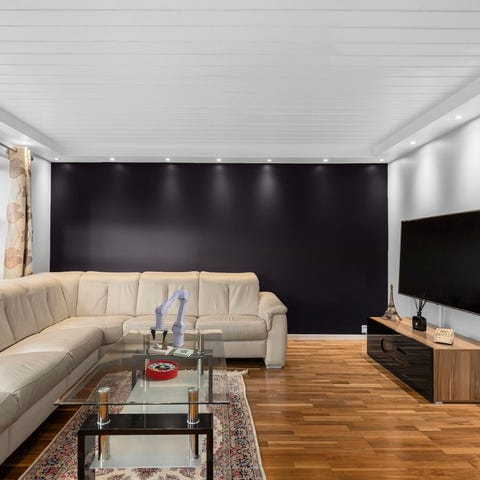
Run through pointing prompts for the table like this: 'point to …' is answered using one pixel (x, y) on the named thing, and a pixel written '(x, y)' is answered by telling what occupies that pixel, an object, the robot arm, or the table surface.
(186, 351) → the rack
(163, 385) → the table surface
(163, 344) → the peg
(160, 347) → the socket block
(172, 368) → the toy clock
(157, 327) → the robot arm
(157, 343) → the grey metal knob
